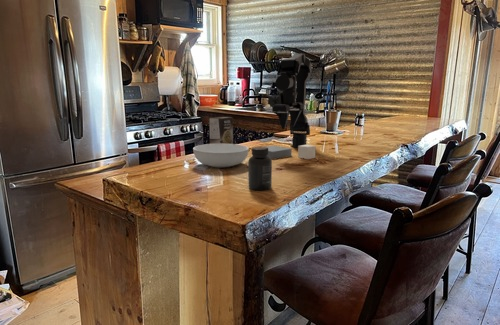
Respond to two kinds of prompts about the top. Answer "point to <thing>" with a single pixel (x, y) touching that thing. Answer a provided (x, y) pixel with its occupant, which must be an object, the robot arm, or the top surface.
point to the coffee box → (221, 130)
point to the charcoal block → (278, 151)
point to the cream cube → (306, 151)
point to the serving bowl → (220, 154)
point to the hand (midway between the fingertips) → (288, 127)
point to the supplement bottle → (260, 169)
